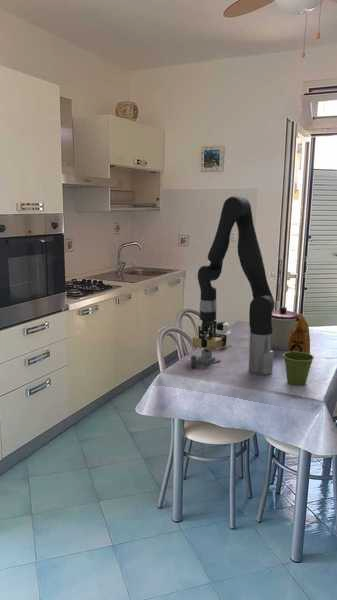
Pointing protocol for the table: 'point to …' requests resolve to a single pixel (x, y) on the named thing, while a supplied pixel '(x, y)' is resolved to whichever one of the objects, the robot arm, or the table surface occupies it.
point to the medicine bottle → (223, 334)
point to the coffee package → (299, 336)
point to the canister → (282, 327)
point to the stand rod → (193, 362)
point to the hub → (207, 357)
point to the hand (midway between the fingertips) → (207, 345)
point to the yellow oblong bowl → (208, 343)
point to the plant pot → (297, 367)
